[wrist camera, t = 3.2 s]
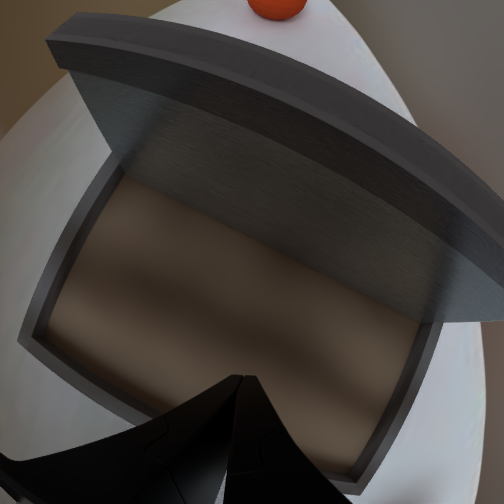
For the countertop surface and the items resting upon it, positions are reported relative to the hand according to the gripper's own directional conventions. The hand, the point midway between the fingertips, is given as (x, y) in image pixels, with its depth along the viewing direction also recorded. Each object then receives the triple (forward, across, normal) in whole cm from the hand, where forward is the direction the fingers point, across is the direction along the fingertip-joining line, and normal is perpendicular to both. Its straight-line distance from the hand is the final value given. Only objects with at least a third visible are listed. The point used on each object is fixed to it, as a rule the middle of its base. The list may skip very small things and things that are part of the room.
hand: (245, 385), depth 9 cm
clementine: (+26, +1, +27) cm, 37 cm away
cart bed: (+9, -2, -4) cm, 10 cm away
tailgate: (+10, +1, +3) cm, 11 cm away
